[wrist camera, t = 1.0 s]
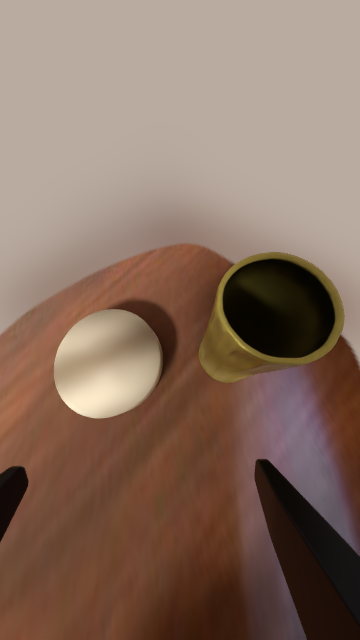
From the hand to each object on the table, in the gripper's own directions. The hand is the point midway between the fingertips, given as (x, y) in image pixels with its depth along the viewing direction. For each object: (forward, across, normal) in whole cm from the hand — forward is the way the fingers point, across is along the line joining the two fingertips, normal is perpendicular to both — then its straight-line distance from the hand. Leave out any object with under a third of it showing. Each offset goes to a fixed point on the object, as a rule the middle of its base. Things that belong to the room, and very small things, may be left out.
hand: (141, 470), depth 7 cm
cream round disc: (+15, +6, +3) cm, 16 cm away
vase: (+14, -7, +2) cm, 16 cm away
